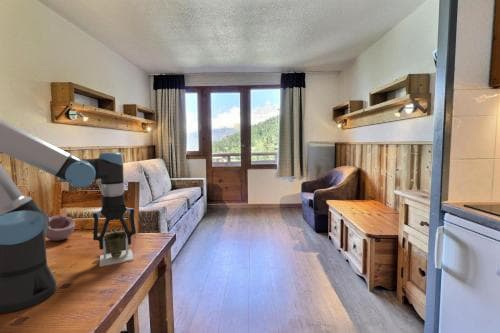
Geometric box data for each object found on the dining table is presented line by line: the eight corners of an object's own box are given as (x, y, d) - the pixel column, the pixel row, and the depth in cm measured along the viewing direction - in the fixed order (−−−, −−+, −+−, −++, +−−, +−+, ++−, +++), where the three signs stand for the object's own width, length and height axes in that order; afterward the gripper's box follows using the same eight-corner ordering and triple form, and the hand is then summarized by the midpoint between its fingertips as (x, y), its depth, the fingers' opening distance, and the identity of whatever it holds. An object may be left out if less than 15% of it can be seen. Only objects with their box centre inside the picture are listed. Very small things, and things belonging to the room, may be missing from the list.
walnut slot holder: (123, 239, 122) (123, 230, 121) (125, 249, 109) (125, 240, 109) (106, 241, 118) (105, 232, 118) (106, 253, 106) (105, 243, 106)
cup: (119, 250, 106) (118, 230, 106) (131, 254, 103) (130, 233, 102) (101, 257, 100) (99, 236, 99) (112, 261, 96) (111, 239, 95)
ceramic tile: (133, 260, 100) (133, 258, 99) (99, 266, 94) (99, 265, 94) (131, 250, 108) (131, 249, 108) (100, 256, 103) (100, 254, 103)
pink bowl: (53, 246, 113) (51, 219, 112) (37, 242, 118) (35, 216, 117) (81, 237, 124) (80, 213, 123) (65, 233, 129) (64, 210, 128)
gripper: (140, 190, 107) (143, 246, 109) (82, 195, 98) (86, 256, 100) (142, 193, 100) (145, 253, 102) (80, 199, 91) (84, 264, 93)
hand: (116, 255), depth 101 cm, fingers closed on cup, 7 cm apart
